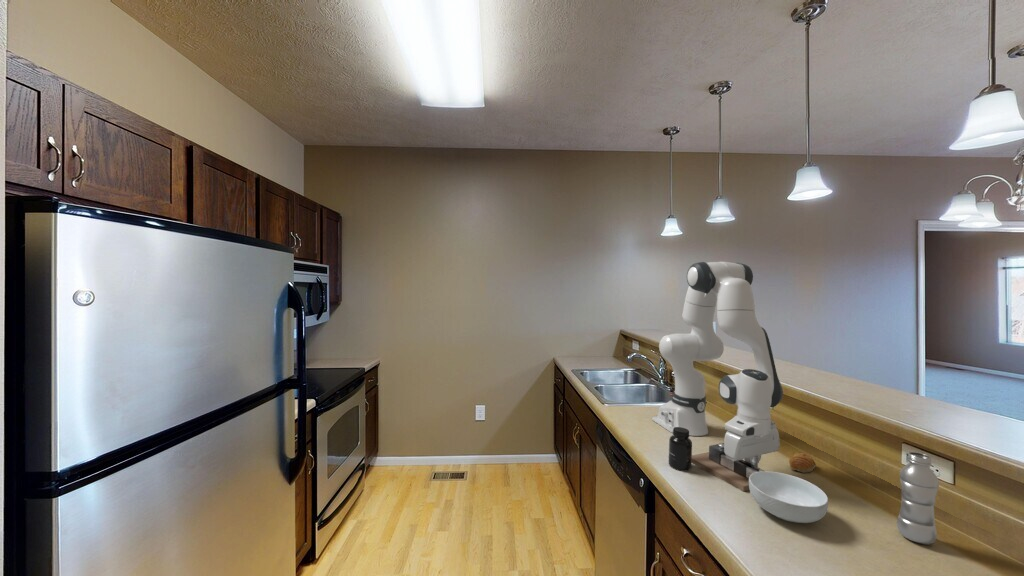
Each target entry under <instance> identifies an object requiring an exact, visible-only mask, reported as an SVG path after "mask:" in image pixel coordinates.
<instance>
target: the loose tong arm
mask: <svg viewBox="0 0 1024 576" xmlns="http://www.w3.org/2000/svg"><path fill="white" fill-rule="evenodd" d="M736 461H739V462H741V463H743V464H745V465H747V466H749V467H750V468H752V469H754V470H756V471H757V472H760V471H762V470H763V469H762V468H760V467H759V466H758V467H756V466H754V465H753V464H751V463H748V462H746V461H745V459H740V460H736Z"/></svg>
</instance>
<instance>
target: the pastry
mask: <svg viewBox="0 0 1024 576" xmlns="http://www.w3.org/2000/svg"><path fill="white" fill-rule="evenodd" d="M788 462H789V466H790V469H791V471H797V472H800V473H803V474H805V473H811V472H813V469H814V470H815V469H816V466H817V463H816V461H814V459H813V457H812V456H810V455H808V454H806V453H804V452H803V453H799V452H797V453H795V454H794V455H792V456H791V457H790V458H789V460H788Z"/></svg>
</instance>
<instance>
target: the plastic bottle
mask: <svg viewBox="0 0 1024 576" xmlns="http://www.w3.org/2000/svg"><path fill="white" fill-rule="evenodd" d="M907 455H908V457H907V461H908V463H907V464H905V465H903V467H902V468H900V471H899V480H900V487H901V503H900V507H899V508H900V510H899V514H898V517H897V520H896V528H897V530H898V532H899V533H900V535H901V536H902V537H904V538H906V540H910V541H912V542H914V543H918V544H921V545H927V546H929V545H933V543H935V542H936V539H937V537H938V533H937V527H936V522H935V505H936V498H937V495H938V491H939V485H940V480H939V477H938V476H937V475H936V474H935V472H934V471H933V470H932V468H930V467H932V459H931V457H930V456H929V455H927V454H925V453H922V452H917V451H916V452H915V451H910V452H909V451H908V454H907Z"/></svg>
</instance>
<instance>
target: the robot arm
mask: <svg viewBox="0 0 1024 576" xmlns="http://www.w3.org/2000/svg"><path fill="white" fill-rule="evenodd" d="M753 281H754V274H753V271H752V268H751V267H750V266H749V265H747V264H745V263H741V262H729V261H708V262H704V261H700V262H695V263H692V264H691V265H690V266H689V268H688V270H687V273H686V282H687V285H688V287H687V290H686V294H685V298H684V303H683V308H682V315H681V318H682V319H683V322H684V323H685V324H686V325H688V326H689V327H691V330H690V332H689V333H671V334H670V333H669V334H667V335H664V336H662V337H661V338H660V340H659V344H658V349H659V352H660V355H661V356H662V358H663V359H665V360H666V361H667V362H668V363H669V364H670V366H671V369H672V371H673V374H674V391H673V392H670V393H669V397H671V396H672V397H671V400H669V401H667V402H666V403H664V404H662V405H661V406H659V408H658V411H657V412H658V414H657V415H654V416H652V418H651V420H652V421H653V422H655V423H656V424H657V425H659V426H660V427H662V428H664V429H665V430H667V431H668V432H670V433H672V434H673V428H674V427H682V428H685V429H687V430H689V436H693V437H694V436H695V437H696V436H697V437H700V436H701V437H702V436H706V435H708V434H709V429H708V424H707V416H706V406H707V396H705V395H706V394H705V393H706V378H705V376H704V374H703V373H701V372H700V371H699V370H697V369H695V367H694V362H696V361H697V362H699V361H700V362H703V361H704V362H706V361H707V362H709V361H712V360H717V359H720V358H721V357H722V356H723V353H724V349H725V347H724V343H723V340H722V339H721V338H720V337H719V336H718V335H717V334H716V332H715V329H714V317H715V311H716V318H717V319H716V320H717V325H718V327H719V328H720V330H721V331H722V332H723V333H725V334H726V335H727V336H729V337H731V338H733V339H736V340H739V341H741V342H743V343H745V344H747V345H748V346H749V347H750V348H751V350H752V351H753V352H752V353H753V355H754V356H753V358H754V360H755V365H756V369H752V368H747V369H743V370H741V371H740V372H739V373H736V374H727V375H724V376H723V377H721V379H720V380H719V382H718V395H719V397H720V398H721V399H722V400H723V401H724V402H725V403H727V404H730V405H732V406H733V405H735V406H737V410H736V415H734V417H733V418H731V419H729V420H727V422H725V424H724V429H725V430H727V431H726V432H725V434H724V442H723V443H724V452H725V454H726V456H727V457H729V458H731V459H733V460H740V459H742V460H744V461H746V462H748V463H751V464H753V465H754V466H756V467H758V468H759V464H760V461H761V459H762V456H763V455H767V454H771V453H775V452H778V451H779V449H780V447H781V445H780V444H781V443H780V434H779V430H778V429H777V427H778V426H777V424H776V422H775V421H773V420H772V414H771V410H770V409H771V408H772V409H773V408H775V407H776V406H777V405H778V404H780V403H781V401H782V399H783V397H784V389H783V387H782V384H781V382H780V378H779V376H778V372H777V368H776V365H775V360H774V359H775V358H774V355H773V350H772V347H771V342H770V338H769V336H768V333H767V330H766V329H765V328H764V327H762V326H761V325H760V324H759V322H758V320H757V317H756V313H755V312H756V307H755V299H754V294H753V290H752V287H751V285H752V283H753Z"/></svg>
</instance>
